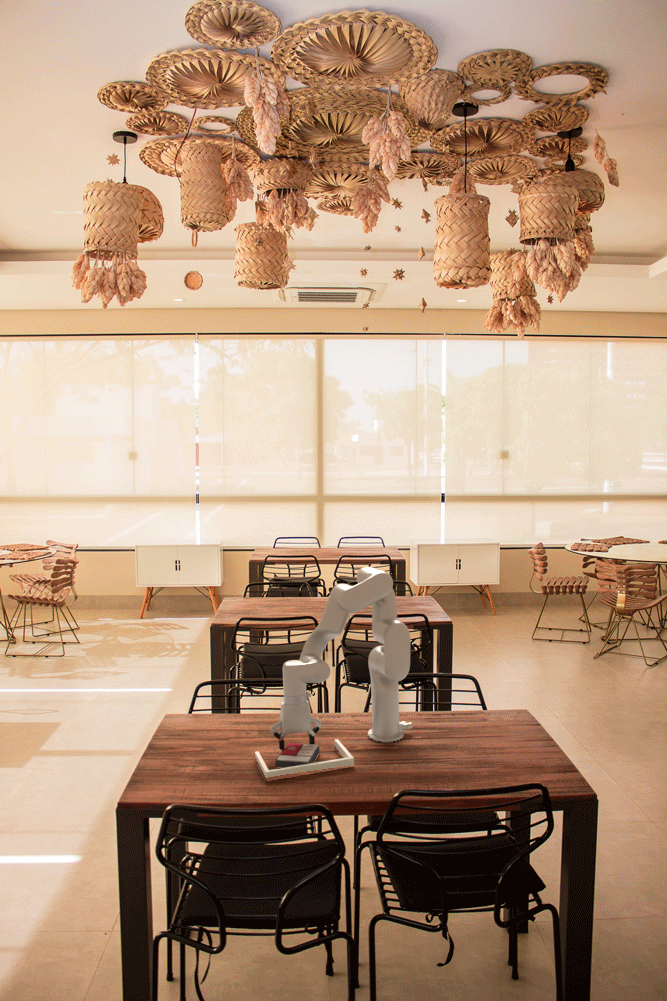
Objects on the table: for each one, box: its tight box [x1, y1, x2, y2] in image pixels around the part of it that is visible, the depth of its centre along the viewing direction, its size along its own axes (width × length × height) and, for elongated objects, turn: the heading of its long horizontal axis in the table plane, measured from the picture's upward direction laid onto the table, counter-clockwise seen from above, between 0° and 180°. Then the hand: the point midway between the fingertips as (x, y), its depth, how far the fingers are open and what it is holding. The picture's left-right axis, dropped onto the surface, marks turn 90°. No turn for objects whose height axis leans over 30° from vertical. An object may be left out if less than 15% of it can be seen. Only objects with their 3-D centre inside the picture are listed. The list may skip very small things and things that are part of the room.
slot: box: [254, 738, 355, 778], centre depth 228 cm, size 28×16×3 cm, turn 108°
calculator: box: [275, 742, 321, 768], centre depth 229 cm, size 11×4×15 cm
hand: (297, 748), depth 236 cm, fingers open, 9 cm apart
